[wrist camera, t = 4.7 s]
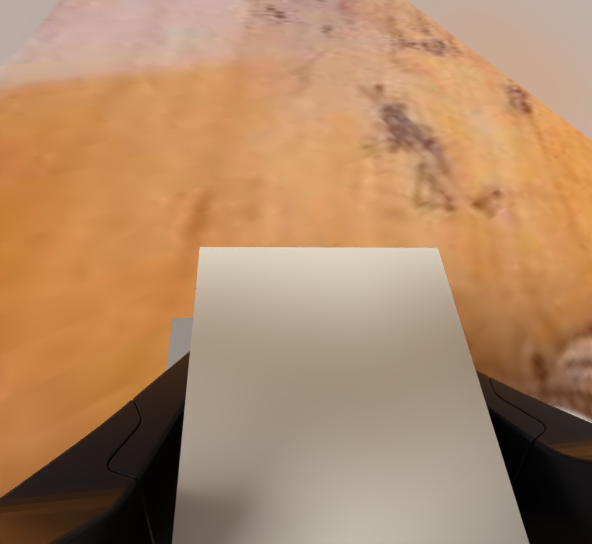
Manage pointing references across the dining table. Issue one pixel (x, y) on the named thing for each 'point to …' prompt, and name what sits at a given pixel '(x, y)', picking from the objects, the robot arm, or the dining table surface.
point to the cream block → (335, 405)
